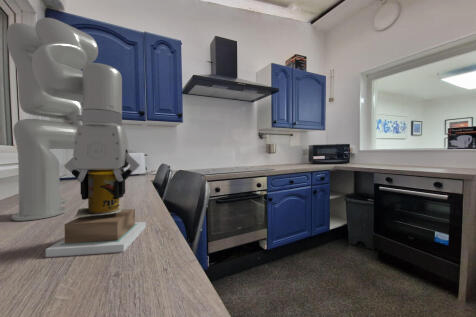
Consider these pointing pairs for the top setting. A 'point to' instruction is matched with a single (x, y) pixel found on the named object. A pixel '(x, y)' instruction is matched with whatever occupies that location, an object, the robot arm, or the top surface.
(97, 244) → the build board
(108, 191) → the condiment
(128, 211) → the base block
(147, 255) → the top surface
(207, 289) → the top surface
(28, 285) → the top surface
